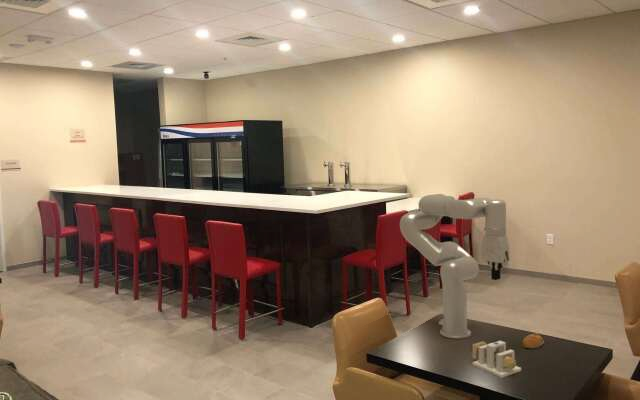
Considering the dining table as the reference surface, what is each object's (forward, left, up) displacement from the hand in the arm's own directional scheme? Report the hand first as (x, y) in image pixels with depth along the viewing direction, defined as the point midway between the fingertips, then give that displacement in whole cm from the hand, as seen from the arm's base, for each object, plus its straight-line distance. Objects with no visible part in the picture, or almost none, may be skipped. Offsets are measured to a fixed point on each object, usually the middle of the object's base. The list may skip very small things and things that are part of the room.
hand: (496, 279), depth 198 cm
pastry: (+6, +13, -28) cm, 31 cm away
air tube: (+12, -15, -26) cm, 32 cm away
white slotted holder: (+13, -15, -27) cm, 34 cm away
